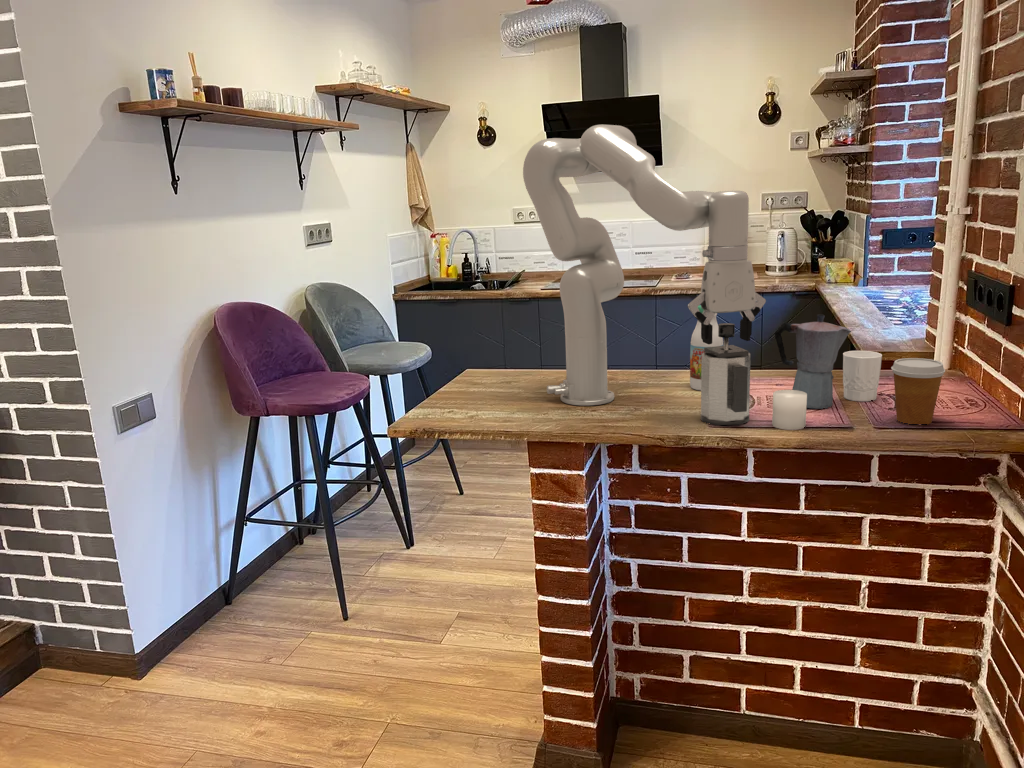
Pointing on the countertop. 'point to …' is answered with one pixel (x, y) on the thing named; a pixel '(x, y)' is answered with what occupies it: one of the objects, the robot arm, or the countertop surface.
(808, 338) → the moka pot
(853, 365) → the white cup
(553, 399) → the countertop surface
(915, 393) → the disposable coffee cup
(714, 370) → the press carafe
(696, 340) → the milk bottle
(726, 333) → the plunger
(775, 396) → the white pillar candle
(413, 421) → the countertop surface
